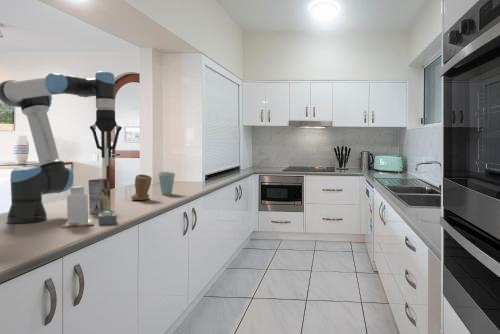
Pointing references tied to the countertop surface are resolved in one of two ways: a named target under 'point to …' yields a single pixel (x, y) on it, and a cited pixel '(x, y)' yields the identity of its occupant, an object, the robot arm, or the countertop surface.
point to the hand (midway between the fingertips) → (106, 165)
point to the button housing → (107, 219)
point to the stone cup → (142, 187)
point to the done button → (106, 213)
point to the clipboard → (88, 223)
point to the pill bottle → (77, 205)
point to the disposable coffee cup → (166, 182)
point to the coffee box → (99, 195)
